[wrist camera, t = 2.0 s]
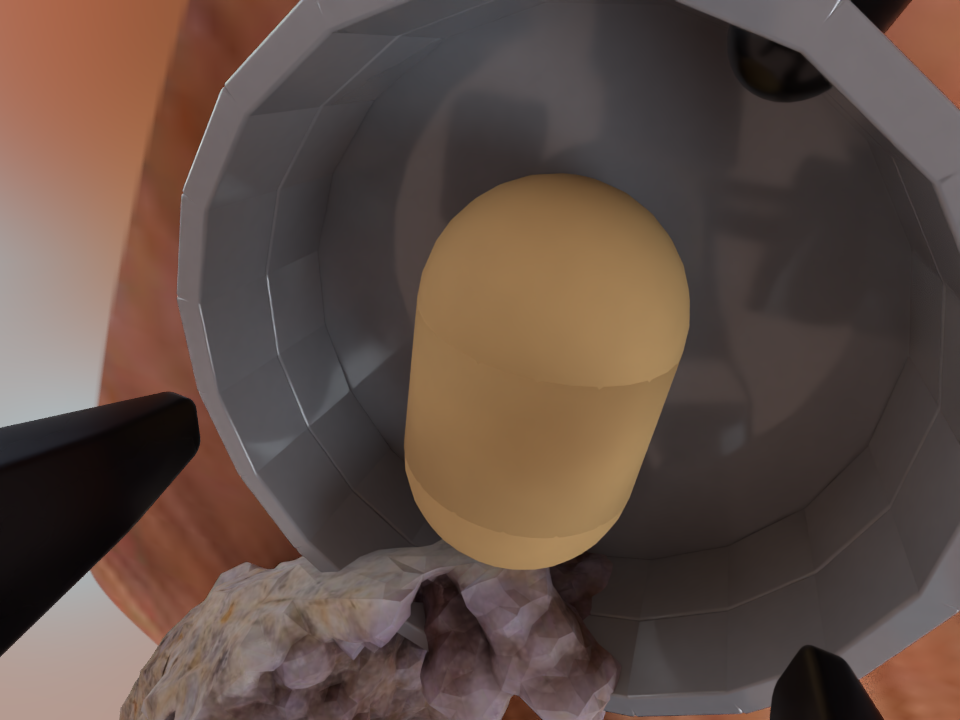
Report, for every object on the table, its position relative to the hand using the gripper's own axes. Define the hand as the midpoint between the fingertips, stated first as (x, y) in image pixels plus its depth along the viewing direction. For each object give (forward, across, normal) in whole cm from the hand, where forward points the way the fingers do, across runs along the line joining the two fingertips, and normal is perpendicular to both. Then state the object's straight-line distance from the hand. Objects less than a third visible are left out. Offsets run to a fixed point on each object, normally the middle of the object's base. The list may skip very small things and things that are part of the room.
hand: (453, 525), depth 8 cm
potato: (+6, 0, 0) cm, 6 cm away
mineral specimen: (+7, +5, +12) cm, 15 cm away
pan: (+7, 0, 0) cm, 7 cm away
